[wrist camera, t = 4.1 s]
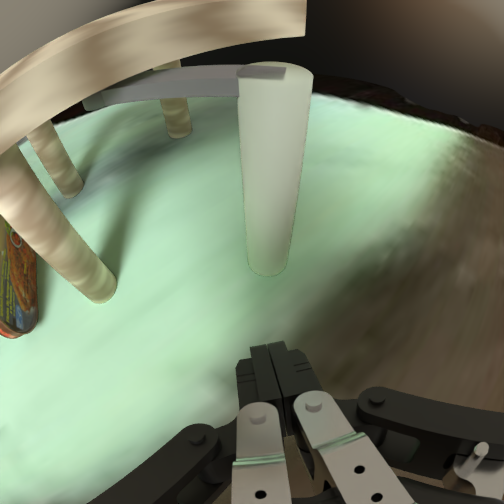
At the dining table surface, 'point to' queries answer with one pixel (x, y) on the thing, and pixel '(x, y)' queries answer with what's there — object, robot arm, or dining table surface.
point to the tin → (16, 283)
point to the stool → (93, 80)
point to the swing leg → (246, 138)
